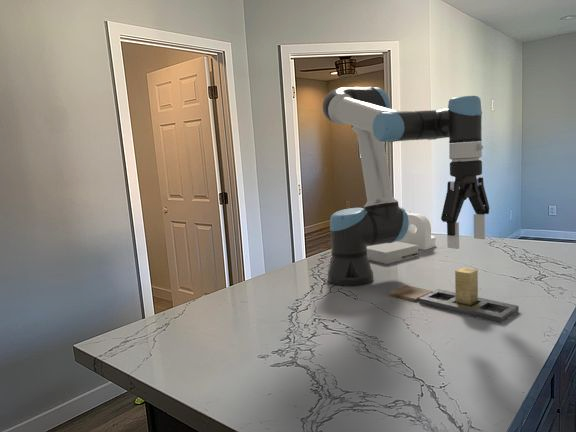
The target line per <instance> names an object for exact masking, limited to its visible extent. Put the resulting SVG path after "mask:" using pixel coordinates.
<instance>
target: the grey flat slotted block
mask: <svg viewBox="0 0 576 432" xmlns="http://www.w3.org/2000/svg"><path fill="white" fill-rule="evenodd" d="M437 298H441V299H437ZM443 299H446V300H443ZM418 303H419V304H421V305H424V306H429V307H433V308H437V309H440V310H446V311H449V312H452V313H458V314H461V315H466V316H470V317H473V318H477V317H478V318H477V319H481V320H486V321H490V322H494V323H497V324H503V323H504V322H505V321H508V320H509V319H510V318H511V317H513V316H514V315H516V314H517V313H519V305H517V304H512V303H508V302H502V301H498V300H493V299H487V298H483V297H479V296H478V304H476V305H474V306H472V307H470V306H465V305H461V304H457V303H456V291H455V292H454V291H450V290H445V289H440V288H438V289H436V290H434V291H433V292H431V293H429V294H427V295H425V296H423V297H421V298H419V300H418ZM488 309H491V310H494V311H491V310H488ZM495 311H500V313H499V312H495Z"/></svg>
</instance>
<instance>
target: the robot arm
mask: <svg viewBox="0 0 576 432" xmlns="http://www.w3.org/2000/svg"><path fill="white" fill-rule="evenodd" d="M481 102H482V101H481V98H480V97H479V96H476V95H464V96H462V95H461V96H456V97H452V98H450V99H449V100H448V105H447V108H440V109H432V110H411V111H407V110H406V111H405V110H404V111H402V110H401V111H400V110H396V109H393V108H391V102H390V98H389V96H388V94H387V93H386V91H385V90H383V89H382V88H380V87H373V86H366V87H365V86H363V87H362V86H354V87H345V86H343V87H338V88H335V89H333V90H331V91H329V92H328V93H327V94H326V96H325V97H324V99H323V101H322V113H323V115H324V117H326V119H327V120H328V121H330V122H332V123H335V124H338V125H344V124H346V125H349V126H351V130H352V131H353V132H355V134H356V135H357V136H356V138H357V142H358V143H357V144H358V149H359V155H360V162H361V168H362V174H363V182H364V187H365V189H364V190H365V196H366V203H365V204H364V205H363V207H352V208H350V207H349V208H344V209H341V210H337V211H336V212H334V213H333V214H331V216H330V219H329V220H330V221H329V232H330V247H331V248H330V249H331V260H330V263H329V268H328V271H327V281H328V283H330V284H332V285H333V284H334V285H336V286H343V287H345V286H348V287H349V286H350V287H353V286H361V285H362V286H363V285H366V284H369V283H371V282H373V281H374V271H373V269H372V266H371V264H370V260H368V257H367V246H372V245H378V244H385V243H393V242H396V241H400V240H401V239H403V238H404V236H405V235H406V233H407V231H408V226H409V220H408V215H407V213H406V212H407V211H406V209H405V208H404V207H401V206H400V205H399V201H398V200H397V199H396V198H395V197H394V195H393V191H392V190H393V189H392V184H391V178H390V172H389V166H388V158H387V153H386V146H385V142H386V143H393V142H405V141H419V140H420V141H421V140H429V141H431V140H433V141H434V140H439V139H444V138H445V139H446V138H448V139H449V141H448V142H449V143H448V144H449V152H448V153H449V154H448V155H449V156H448V158H449V160H451V161H450V162H449V175H450V176H451V177H452V178H453V177H454V178H455V179H454V181H449V180H448V181H447V184H446V185H447V189H446V190H447V191H446V195H445V199H444V204H443V208H442V212H441V217H440V219H441V221H442V222H443V223H446V235H447V238H446V241H447V246H446V247H447V249H448V248H449V249H456V250H459V249H460V222H459V221H458V218H459V217H460V216H459V215H460V213H461V212H462V211H461V210H462V207H463V205H464V202H465V201H466V200H467V199H468V200H469V202H470V204H471V206H472V208H473V210H474V212H475V213H473V239H477V240H478V239H479V240H486V215H489V213H490V205H489V201H488V198H487V193H486V189H485V185H484V184H485V183H484V177H482V176H481V175H482V174H483V161H482V160H481V159H480V158H482V156H483V155H482V151H483V148H484V146H483V145H482V144H483V142H482V136H483V135H482V134H483V133H482V129H483V128H482V119H483V118H482V115H483V112H482V103H481ZM405 211H406V212H405Z"/></svg>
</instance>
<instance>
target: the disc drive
mask: <svg viewBox="0 0 576 432" xmlns="http://www.w3.org/2000/svg"><path fill="white" fill-rule="evenodd" d="M367 257H368V260H369V261H372V262H373V261H374V262H378V263H381V264H385V265H388V264H392V263H396V262H399V261H404V260H408V259H411V258H414V257H419V249H418V245H414V244H408V243H403V242H397V241H396V242H393V243H385V244H378V245H372V246H367Z"/></svg>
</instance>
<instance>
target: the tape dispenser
mask: <svg viewBox="0 0 576 432" xmlns="http://www.w3.org/2000/svg"><path fill="white" fill-rule="evenodd" d="M405 212H406V213H407V215H408V220H409V226H408V231H407V233H406V235H405V236H404V238H403V239H401V240H400V241H397V242H403V243H408V244H414V245H418V250H428V249H431V248H435V247H436V245H437V244H436V237H435V236H434V235H433V234H432V226H431V222H430V220H429V219H428V218H427V217H426V216H425V215H423V214H421V213H418V212H417V213H415V212H414V213H413V212H411V211H406V210H405Z"/></svg>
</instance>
